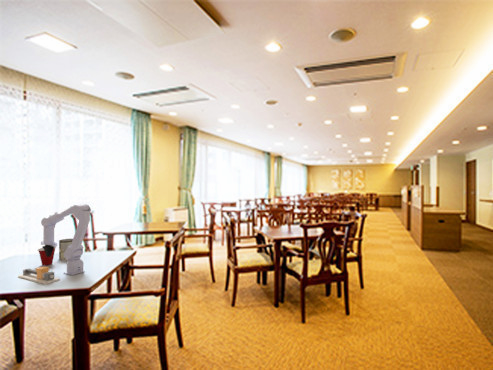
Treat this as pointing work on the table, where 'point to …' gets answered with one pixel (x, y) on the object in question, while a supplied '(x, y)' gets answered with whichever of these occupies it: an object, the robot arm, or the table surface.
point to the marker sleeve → (41, 271)
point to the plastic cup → (45, 259)
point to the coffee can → (63, 247)
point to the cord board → (32, 276)
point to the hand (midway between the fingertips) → (48, 256)
